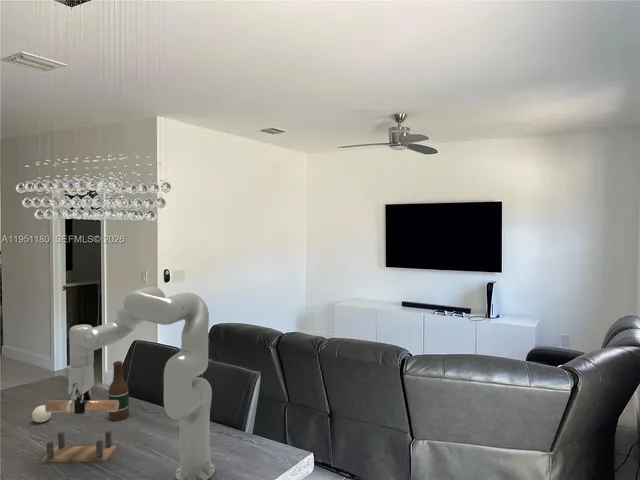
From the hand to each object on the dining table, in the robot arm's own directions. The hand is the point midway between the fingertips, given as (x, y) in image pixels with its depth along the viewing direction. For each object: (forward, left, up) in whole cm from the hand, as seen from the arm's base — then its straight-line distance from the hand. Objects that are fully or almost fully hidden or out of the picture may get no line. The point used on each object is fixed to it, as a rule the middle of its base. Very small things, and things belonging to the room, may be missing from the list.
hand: (82, 410), depth 164 cm
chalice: (+51, -10, -16) cm, 54 cm away
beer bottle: (+24, -20, -16) cm, 35 cm away
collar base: (+1, +1, -16) cm, 16 cm away
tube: (0, 0, 0) cm, 0 cm away
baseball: (+42, +5, -17) cm, 45 cm away
